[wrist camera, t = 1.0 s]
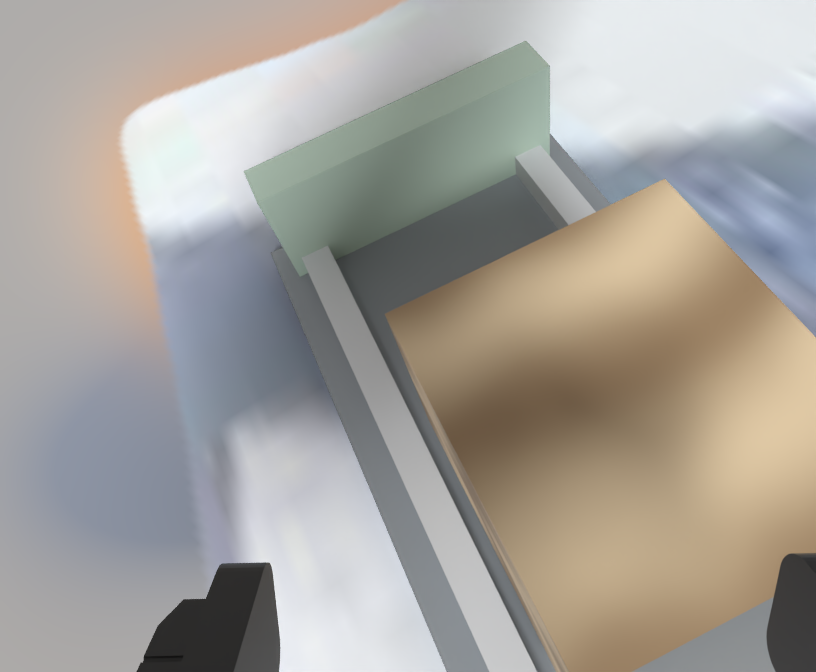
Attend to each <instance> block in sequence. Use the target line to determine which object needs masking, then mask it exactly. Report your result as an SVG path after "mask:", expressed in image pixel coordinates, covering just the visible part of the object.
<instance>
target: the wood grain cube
mask: <svg viewBox="0 0 816 672" xmlns="http://www.w3.org/2000/svg"><path fill="white" fill-rule="evenodd" d="M385 316H386V318H387V321H388V323H389V326H390V328H391V330H392V333H393V335H394V338H395V340H396V342H397V345H398V347H399V350H400V352H401V354H402V357H403V359H404V362H405V364H406V366H407V369H408V371H409V374H410V376H411V378H412V381H413V383H414V386H415V388H416V390H417V393H418V395H419V398H420V400H421V402H422V405H423V407H424V410H425V412H426V414H427V417H428V419H429V421H430V423H431V425H432V427H433V429H434V431H435V433H436V435H437V437H438V439H439V441H440V443H441V445H442V447H443V449H444V451H445V453H446V455H447V457H448V459H449V461H450V463H451V465H452V467H453V469H454V471H455V473H456V475H457V477H458V479H459V481H460V483H461V485H462V487H463V488H464V490H465V492H466V494H467V496H468V498H469V500H470V502H471V504H472V506H473V508H474V510H475V512H476V514H477V516H478V518H479V520H480V522H481V524H482V526H483V528H484V530H485V532H486V534H487V536H488V538H489V540H490V542H491V544H492V546H493V548H494V550H495V552H496V554H497V556H498V558H499V560H500V562H501V564H502V566H503V568H504V570H505V572H506V574H507V576H508V578H509V580H510V582H511V584H512V585H513V587H514V589H515V591H516V593H517V595H518V597H519V599H520V601H521V603H522V605H523V607H524V609H525V611H526V613H527V615H528V617H529V619H530V621H531V623H532V625H533V627H534V629H535V631H536V633H537V635H538V637H539V639H540V641H541V643H542V645H543V647H544V649H545V651H546V653H547V655H548V657H549V659H550V661H551V663H552V665H553V667H554V669H555V671H556V672H632V671H634V670H636V669H638V668H640V667H642V666H644V665H646V664H648V663H649V662H651V661H653V660H655V659H657V658H659V657H661V656H663V655H665V654H666V653H668V652H670V651H672V650H674V649H676V648H678V647H680V646H682V645H684V644H685V643H687V642H689V641H691V640H693V639H695V638H697V637H699V636H701V635H702V634H704V633H706V632H708V631H710V630H712V629H714V628H716V627H718V626H719V625H721V624H723V623H725V622H727V621H729V620H731V619H733V618H735V617H737V616H738V615H740V614H742V613H744V612H746V611H748V610H750V609H752V608H754V607H755V606H757V605H759V604H761V603H763V602H765V601H767V600H769V599H771V598H773V597H774V593H775V589H776V584H777V579H778V575H779V570H780V566H781V562H782V560H783V558H784V557H785V556H786V555H788V554H791V553H816V337H815V336H814V335H813V334H812V333H811V332H810V331H809V330H808V329H807V328H806V327H805V326H804V325H803V324H802V322H801V321H800V320H799V319H798V318H797V317H796V316H795V315H794V314H793V313H792V312H791V311H790V310H789V309H788V308H787V307H786V306H785V305H784V304H783V303H782V301H781V300H780V299H779V298H778V297H777V296H776V295H775V294H774V293H773V292H772V291H771V290H770V289H769V288H768V287H767V286H766V285H765V284H764V283H763V282H762V280H761V279H760V278H759V277H758V276H757V275H756V274H755V273H754V272H753V271H752V270H751V269H750V268H749V267H748V266H747V265H746V264H745V263H744V262H743V261H742V259H741V258H740V257H739V256H738V255H737V254H736V253H735V252H734V251H733V250H732V249H731V248H730V247H729V246H728V245H727V244H726V243H725V242H724V241H723V240H722V238H721V237H720V236H719V235H718V234H717V233H716V232H715V231H714V230H713V229H712V228H711V227H710V226H709V225H708V224H707V223H706V222H705V221H704V220H703V219H702V217H701V216H700V215H699V214H698V213H697V212H696V211H695V210H694V209H693V208H692V207H691V206H690V205H689V204H688V203H687V202H686V201H685V200H684V199H683V198H682V196H681V195H680V194H679V193H678V192H677V191H676V190H675V189H674V188H673V187H672V186H671V185H670V184H669V183H668V182H667V181H666V180H665V179H663V180H661V181H659V182H657V183H655V184H653V185H651V186H649V187H647V188H645V189H643V190H641V191H638V192H636V193H634V194H632V195H630V196H628V197H626V198H624V199H622V200H620V201H618V202H616V203H614V204H611V205H609V206H607V207H605V208H603V209H601V210H599V211H597V212H595V213H593V214H591V215H589V216H587V217H585V218H582V219H580V220H578V221H576V222H574V223H572V224H570V225H568V226H566V227H564V228H562V229H560V230H558V231H556V232H553V233H551V234H549V235H547V236H545V237H543V238H541V239H539V240H537V241H535V242H533V243H531V244H529V245H527V246H524V247H522V248H520V249H518V250H516V251H514V252H512V253H510V254H508V255H506V256H504V257H502V258H500V259H498V260H495V261H493V262H491V263H489V264H487V265H485V266H483V267H481V268H479V269H477V270H475V271H473V272H471V273H468V274H466V275H464V276H462V277H460V278H458V279H456V280H454V281H452V282H450V283H448V284H446V285H444V286H442V287H439V288H437V289H435V290H433V291H431V292H429V293H427V294H425V295H423V296H421V297H419V298H417V299H415V300H413V301H410V302H408V303H406V304H404V305H402V306H400V307H398V308H396V309H394V310H392V311H390V312H388V313H386V314H385Z"/></svg>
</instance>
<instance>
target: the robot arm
mask: <svg viewBox="0 0 816 672" xmlns="http://www.w3.org/2000/svg"><path fill="white" fill-rule="evenodd" d="M766 638H767V648H768V652H769V656H770V660H771V662H772V665H773V667H774V670H775V672H816V553H791V554H788V555H786V556H785V557H784V558H783V560H782V562H781V566H780V570H779V575H778V579H777V584H776V589H775V593H774V598H773V603H772V607H771V612H770V617H769V622H768V626H767V634H766ZM279 664H280V636H279V627H278V618H277V609H276V600H275V591H274V581H273V573H272V568H271V565H270V563H226V564H221V565H220V566H219V568H218V570H217V572H216V574H215V577H214V579H213V582H212V585H211V587H210V590H209V592H208V595H207V597H206V599H189V600H188V599H187V600H186V599H185V600H183V601H182V602H181V603H180V604H179V605H178V606H177V607H176V608H175V609H174V610H173V611H172V612H171V613H170V614H169V615H168V616H167V617H166V618H165V619H164V620H163V621H162V622H161V623H160V624H159V625H158V627H157V629H156V631H155V633H154V635H153V638H152V640H151V642H150V644H149V646H148V649H147V651H146V653H145V655H144V661H143V663H141V664H140V666H139V668H138V670H137V672H279Z"/></svg>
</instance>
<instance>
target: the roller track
mask: <svg viewBox="0 0 816 672" xmlns="http://www.w3.org/2000/svg"><path fill="white" fill-rule="evenodd" d="M244 173H245V175H246V178H247V180H248V182H249V185H250V187H251V189H252V192H253V194H254V196H255V199H256V201H257V203H258V205H259V207H260V208H261V210H262V212H263V214H264V215H265V217H266V219H267V220H268V222H269V224H270V226H271V227H272V229H273V231H274V233H275V234H276V236H277V238H278V240H279V241H280V243H281V245H282V248H280V249H278V250H276V251H274V252H272V253H271V255H272V257H273V260H274V262H275V264H276V267H277V269H278V272H279V274H280V276H281V279H282V281H283V283H284V286H285V288H286V291H287V293H288V295H289V298H290V300H291V302H292V305H293V307H294V310H295V312H296V314H297V317H298V319H299V321H300V324H301V326H302V329H303V331H304V333H305V336H306V338H307V340H308V343H309V345H310V348H311V350H312V352H313V355H314V357H315V359H316V362H317V364H318V367H319V369H320V371H321V374H322V376H323V378H324V381H325V383H326V386H327V388H328V390H329V393H330V395H331V397H332V400H333V402H334V405H335V407H336V409H337V412H338V414H339V416H340V419H341V421H342V424H343V426H344V428H345V431H346V433H347V435H348V438H349V440H350V443H351V445H352V447H353V450H354V452H355V454H356V457H357V459H358V462H359V464H360V466H361V469H362V471H363V474H364V476H365V478H366V481H367V483H368V485H369V488H370V490H371V493H372V495H373V497H374V500H375V502H376V504H377V507H378V509H379V512H380V514H381V516H382V519H383V521H384V523H385V526H386V528H387V531H388V533H389V535H390V538H391V540H392V542H393V545H394V547H395V550H396V552H397V554H398V557H399V559H400V561H401V564H402V566H403V569H404V571H405V573H406V576H407V578H408V580H409V583H410V585H411V588H412V590H413V592H414V595H415V597H416V599H417V602H418V604H419V607H420V609H421V611H422V614H423V616H424V618H425V621H426V623H427V626H428V628H429V630H430V633H431V635H432V637H433V640H434V642H435V645H436V647H437V649H438V652H439V654H440V656H441V659H442V661H443V664H444V666H445V668H446V671H447V672H556V671H555V669H554V667H553V665H552V663H551V661H550V659H549V657H548V655H547V653H546V651H545V649H544V647H543V645H542V643H541V641H540V639H539V637H538V635H537V633H536V631H535V629H534V627H533V625H532V623H531V621H530V619H529V617H528V615H527V613H526V611H525V609H524V607H523V605H522V603H521V601H520V599H519V597H518V595H517V593H516V591H515V589H514V587H513V585H512V584H511V582H510V580H509V578H508V576H507V574H506V572H505V570H504V568H503V566H502V564H501V562H500V560H499V558H498V556H497V554H496V552H495V550H494V548H493V546H492V544H491V542H490V540H489V538H488V536H487V534H486V532H485V530H484V528H483V526H482V524H481V522H480V520H479V518H478V516H477V514H476V512H475V510H474V508H473V506H472V504H471V502H470V500H469V498H468V496H467V494H466V492H465V490H464V488H463V487H462V485H461V483H460V481H459V479H458V477H457V475H456V473H455V471H454V469H453V467H452V465H451V463H450V461H449V459H448V457H447V455H446V453H445V451H444V449H443V447H442V445H441V443H440V441H439V439H438V437H437V435H436V433H435V431H434V429H433V427H432V425H431V423H430V421H429V419H428V417H427V414H426V412H425V410H424V407H423V405H422V402H421V400H420V398H419V395H418V393H417V390H416V388H415V386H414V383H413V381H412V378H411V376H410V374H409V371H408V369H407V366H406V364H405V362H404V359H403V357H402V354H401V352H400V350H399V347H398V345H397V342H396V340H395V338H394V335H393V333H392V330H391V328H390V326H389V323H388V321H387V318H386V316H385V314H386V313H388V312H390V311H392V310H394V309H396V308H398V307H400V306H402V305H404V304H406V303H408V302H410V301H413V300H415V299H417V298H419V297H421V296H423V295H425V294H427V293H429V292H431V291H433V290H435V289H437V288H439V287H442V286H444V285H446V284H448V283H450V282H452V281H454V280H456V279H458V278H460V277H462V276H464V275H466V274H468V273H471V272H473V271H475V270H477V269H479V268H481V267H483V266H485V265H487V264H489V263H491V262H493V261H495V260H498V259H500V258H502V257H504V256H506V255H508V254H510V253H512V252H514V251H516V250H518V249H520V248H522V247H524V246H527V245H529V244H531V243H533V242H535V241H537V240H539V239H541V238H543V237H545V236H547V235H549V234H551V233H553V232H556V231H558V230H560V229H562V228H564V227H566V226H568V225H570V224H572V223H574V222H576V221H578V220H580V219H582V218H585V217H587V216H589V215H591V214H593V213H595V212H597V211H599V210H601V209H603V208H605V207H607V206H609V205H611V204H610V203H609V202H608V201H607V199H606V198H605V197H604V196H603V195H602V194H601V192H600V191H599V190H598V189H597V188H596V187H595V185H594V184H593V183H592V182H591V181H590V180H589V178H588V177H587V176H586V175H585V174H584V173H583V171H582V170H581V169H580V168H579V167H578V166H577V164H576V163H575V162H574V161H573V160H572V159H571V157H570V156H569V155H568V154H567V153H566V152H565V150H564V149H563V148H562V147H561V146H560V145H559V143H558V142H557V141H556V140H555V139H554V138H553V136H552V135H551V134H550V66H549V65H548V64H547V63H546V61H545V60H544V59H543V58H542V57H541V56H540V55H539V54H538V53H537V52H536V51H535V50H534V49H533V48H532V47H531V46H530V44H529V43H528V42H527V41H524V42H522V43H520V44H518V45H516V46H513V47H511V48H509V49H507V50H505V51H503V52H500V53H498V54H496V55H494V56H492V57H490V58H487V59H485V60H483V61H481V62H479V63H477V64H475V65H472V66H470V67H468V68H466V69H464V70H462V71H459V72H457V73H455V74H453V75H451V76H449V77H446V78H444V79H442V80H440V81H438V82H436V83H434V84H431V85H429V86H427V87H425V88H423V89H421V90H418V91H416V92H414V93H412V94H410V95H408V96H405V97H403V98H401V99H399V100H397V101H395V102H392V103H390V104H388V105H386V106H384V107H382V108H380V109H377V110H375V111H373V112H371V113H369V114H367V115H364V116H362V117H360V118H358V119H356V120H354V121H351V122H349V123H347V124H345V125H343V126H341V127H339V128H336V129H334V130H332V131H330V132H328V133H326V134H323V135H321V136H319V137H317V138H315V139H313V140H310V141H308V142H306V143H304V144H302V145H300V146H297V147H295V148H293V149H291V150H289V151H287V152H285V153H282V154H280V155H278V156H276V157H274V158H272V159H269V160H267V161H265V162H263V163H261V164H259V165H256V166H254V167H252V168H250V169H248V170H246V171H244ZM773 598H774V597H773ZM773 598H771V599H769V600H767V601H765V602H763V603H761V604H759V605H757V606H755V607H754V608H752V609H750V610H748V611H746V612H744V613H742V614H740V615H738V616H737V617H735V618H733V619H731V620H729V621H727V622H725V623H723V624H721V625H719V626H718V627H716V628H714V629H712V630H710V631H708V632H706V633H704V634H702V635H701V636H699V637H697V638H695V639H693V640H691V641H689V642H687V643H685V644H684V645H682V646H680V647H678V648H676V649H674V650H672V651H670V652H668V653H666V654H665V655H663V656H661V657H659V658H657V659H655V660H653V661H651V662H649V663H648V664H646V665H644V666H642V667H640V668H638V669H636V670H634V671H632V672H775V670H774V667H773V665H772V662H771V660H770V656H769V652H768V648H767V638H766V634H767V626H768V622H769V617H770V612H771V607H772V603H773Z"/></svg>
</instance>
